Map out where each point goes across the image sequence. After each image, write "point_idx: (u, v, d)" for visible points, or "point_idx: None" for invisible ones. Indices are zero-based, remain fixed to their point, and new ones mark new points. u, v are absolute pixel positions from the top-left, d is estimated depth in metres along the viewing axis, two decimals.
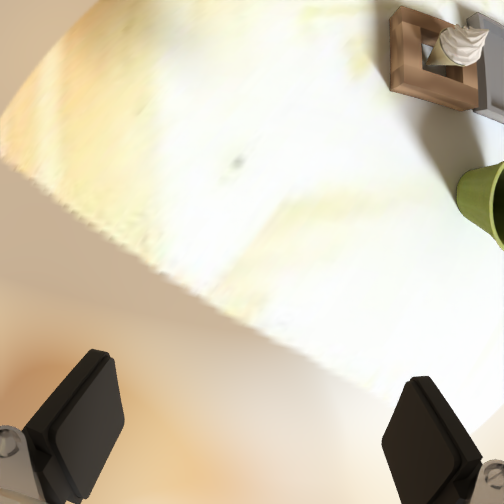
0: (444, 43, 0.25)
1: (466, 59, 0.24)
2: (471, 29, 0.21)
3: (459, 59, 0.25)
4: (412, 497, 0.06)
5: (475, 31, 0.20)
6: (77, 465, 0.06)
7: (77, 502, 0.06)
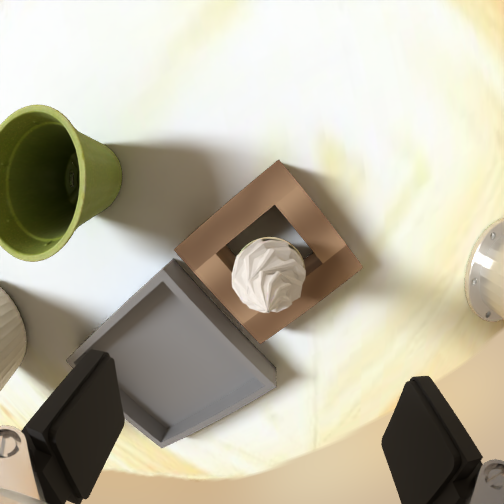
0: None
1: None
2: (284, 295, 0.18)
3: (253, 247, 0.21)
4: (412, 497, 0.06)
5: (278, 294, 0.18)
6: (77, 465, 0.06)
7: (77, 502, 0.06)
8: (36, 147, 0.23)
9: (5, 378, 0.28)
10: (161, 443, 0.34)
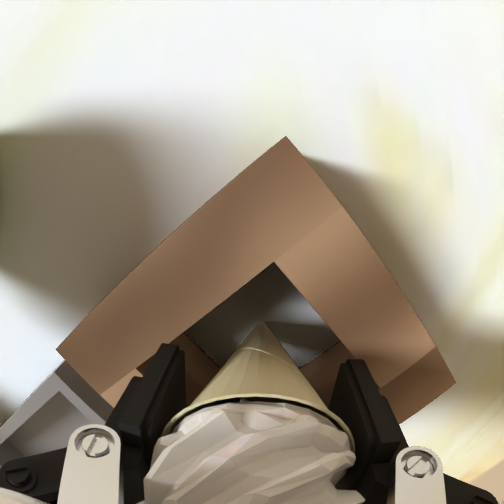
0: (315, 434, 0.06)
1: (175, 474, 0.05)
2: None
3: (199, 442, 0.05)
4: (341, 478, 0.07)
5: None
6: None
7: None
8: None
9: None
10: None
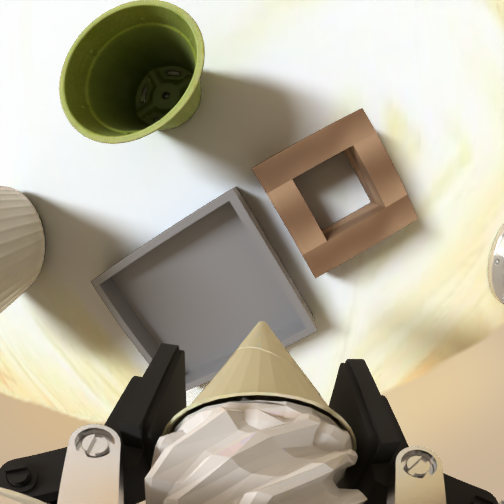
0: (317, 432, 0.06)
1: (176, 473, 0.05)
2: None
3: (201, 441, 0.05)
4: (341, 479, 0.07)
5: None
6: None
7: None
8: (126, 49, 0.23)
9: (14, 295, 0.28)
10: None
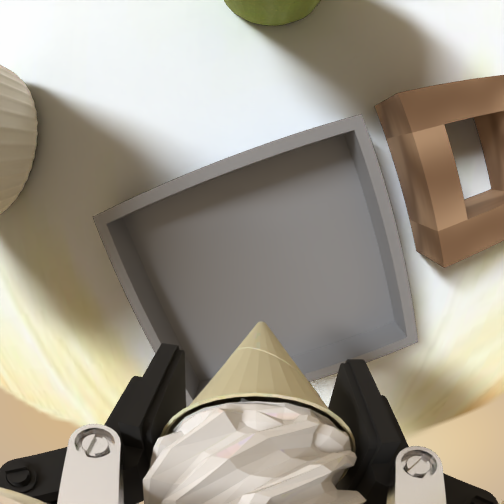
0: (315, 433, 0.06)
1: (175, 474, 0.05)
2: None
3: (199, 442, 0.05)
4: None
5: None
6: None
7: None
8: None
9: None
10: None
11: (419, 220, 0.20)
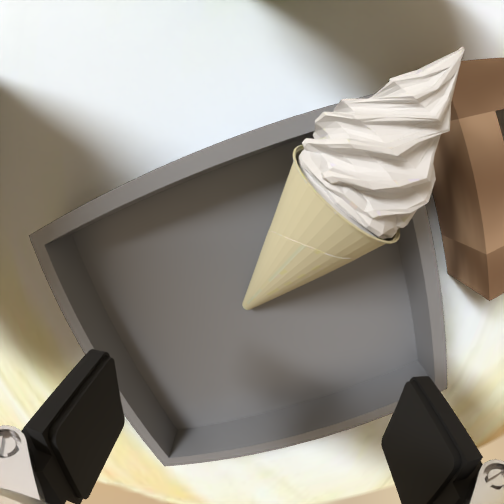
0: None
1: None
2: None
3: None
4: (412, 497, 0.06)
5: None
6: (77, 465, 0.06)
7: (77, 502, 0.06)
8: None
9: None
10: (169, 459, 0.17)
11: (457, 237, 0.14)
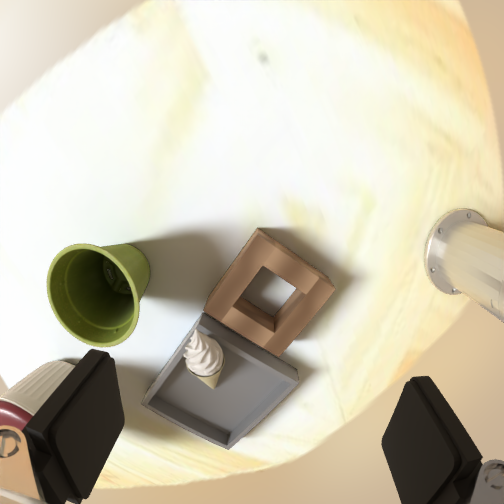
0: None
1: None
2: (206, 341, 0.37)
3: None
4: (412, 497, 0.06)
5: (203, 336, 0.37)
6: (77, 465, 0.06)
7: (77, 502, 0.06)
8: (80, 263, 0.36)
9: None
10: (227, 446, 0.45)
11: None
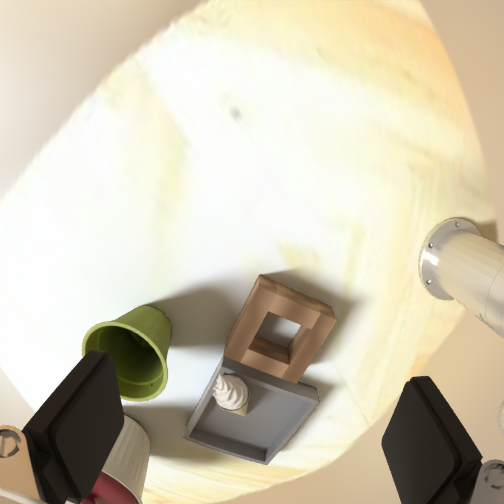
0: None
1: None
2: (230, 381, 0.41)
3: None
4: (412, 497, 0.06)
5: (226, 378, 0.41)
6: (77, 465, 0.06)
7: (77, 502, 0.06)
8: (107, 331, 0.41)
9: (146, 466, 0.46)
10: (265, 462, 0.49)
11: None
